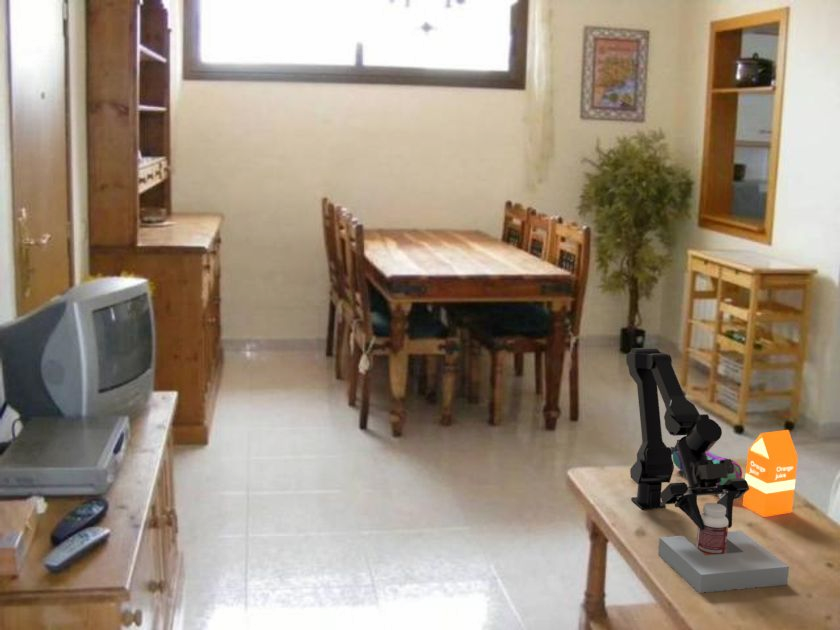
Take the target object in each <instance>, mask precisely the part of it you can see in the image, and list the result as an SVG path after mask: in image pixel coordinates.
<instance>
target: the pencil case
mask: <svg viewBox="0 0 840 630" xmlns="http://www.w3.org/2000/svg"><path fill="white" fill-rule="evenodd" d="M674 447H675V446H670V449H671V452H672V461H673V465H674V466H676V467H677V468H678V469H679V470H680V471H681V472H682V471H683V470H684V468H683V465H682V462H681V458H680V455H679V452H675V451H674ZM706 454H707V457H708V460H712V461H713V463H714V464H720V460H724V459H728V458H727V457H723V456H720V455H717V454H715V453H713V452H711V451H707V452H706ZM731 461H732V463H733V466H734V473H732V474H728V478H721V481H720V482H719V483H716V485H723V484H724V483H726V482H727V481H728V480H729V479H738V478H743V470H742V467H741V465H740V464H739V463H738V462H737V461H735V460H734V459H731Z"/></svg>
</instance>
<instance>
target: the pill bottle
mask: <svg viewBox="0 0 840 630" xmlns="http://www.w3.org/2000/svg"><path fill="white" fill-rule="evenodd" d="M702 511H703V513H700V514H701V517H702V520H703V524H704V529H703V530H700V529H699V527H698V526H697V537H696V546H695V547H696V548H698V549H699V550H700V551H701V552H702V553H703V554H705V555H716V554H726V544H727V533H728V532H729V528H728V523H729V522H728V519H727V517H725V515H726V507H725V506H723V505H721V504H718V503H717V502H707V503H704V504H703V509H702Z"/></svg>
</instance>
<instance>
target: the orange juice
mask: <svg viewBox="0 0 840 630" xmlns="http://www.w3.org/2000/svg"><path fill="white" fill-rule="evenodd" d="M798 458H799V457H798V454H797V451H796V448H795V444H794V443H793V440H792V437H791V433H790V430H789V429H785V430H777V431H769V432H761V433H760V434H759V435H758V436H757V438H756V439H755V440H754V442H753V443H752V445H751V446H749V448H748V449H747V460H746V468H745V469H746V470H745V475H744V476H745V477H744V479H745V480H746V481H747V483H748V485H749V488H750V489H749V490H748V491H747V492H746V493H745V494H743V499H742V500H743V501H742V506H743V507H745V508H746V509H748V510H750V511H752V512H754V513H756V514H758V515H759V516H761V517H763V518H765V517H766V518H767V517H771V516H777V515H782V514H783V515H784V514H788V513H792V512H793V504H794V503H793V502H794V495H795V494H794V493H795V488H796V487H795V486H796V477H797V466H798Z"/></svg>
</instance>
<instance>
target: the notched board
mask: <svg viewBox="0 0 840 630" xmlns="http://www.w3.org/2000/svg"><path fill="white" fill-rule="evenodd" d="M658 541H659V542H658V552H657V555H658V556H659V557H660V558H661V559H662V560H664V562H666V563H667V565H669V566H670V567H671V568H672V569H673V570H674V571H675V572H677V574H678V575H680V576H681V578H682V579H684V580H685V581H686V582H687V583H688V584H689V585H690V586H691V585H692V586H693V587H694V588H693V587H692V586H691V587H692V588H693V589H695V591H697V592H698V593H699V594H705V593H704V592H706V593H714V592H715V591H716V592H723V591H724V590H726V591H731V590H730V589H737V590H744V589H745V588H747V589H756V588H755V587H757V588H767V587H774V586H775V587H777V586H784V585H788V581H789V580H788V579H789V571H790V566H789V565H788V564H786V563H785V562H783V560H781V559H779V557H777V556H776V555H774V554H773V553H772V552H771V551H769V550H768V549H766V548H765V547H764V546H763V545H761V544H760V543H759V542H757V541H755V539H753V538H752V537H751V536H749V535H748V534H746V532H744V531H742V530H736V531H735V530H734V531H728V533H727V544H726V554H716V555H705V554H703V553H702V552H701V551H700V550H699V549H698V548H696V546H695V545H694V544H693V543H691V541H689V540H688V539H687V538H686V537H685V536H684V535H675V536H674V535H673V536H664V537H663V536H662V537H659V540H658ZM724 592H725V591H724Z"/></svg>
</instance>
